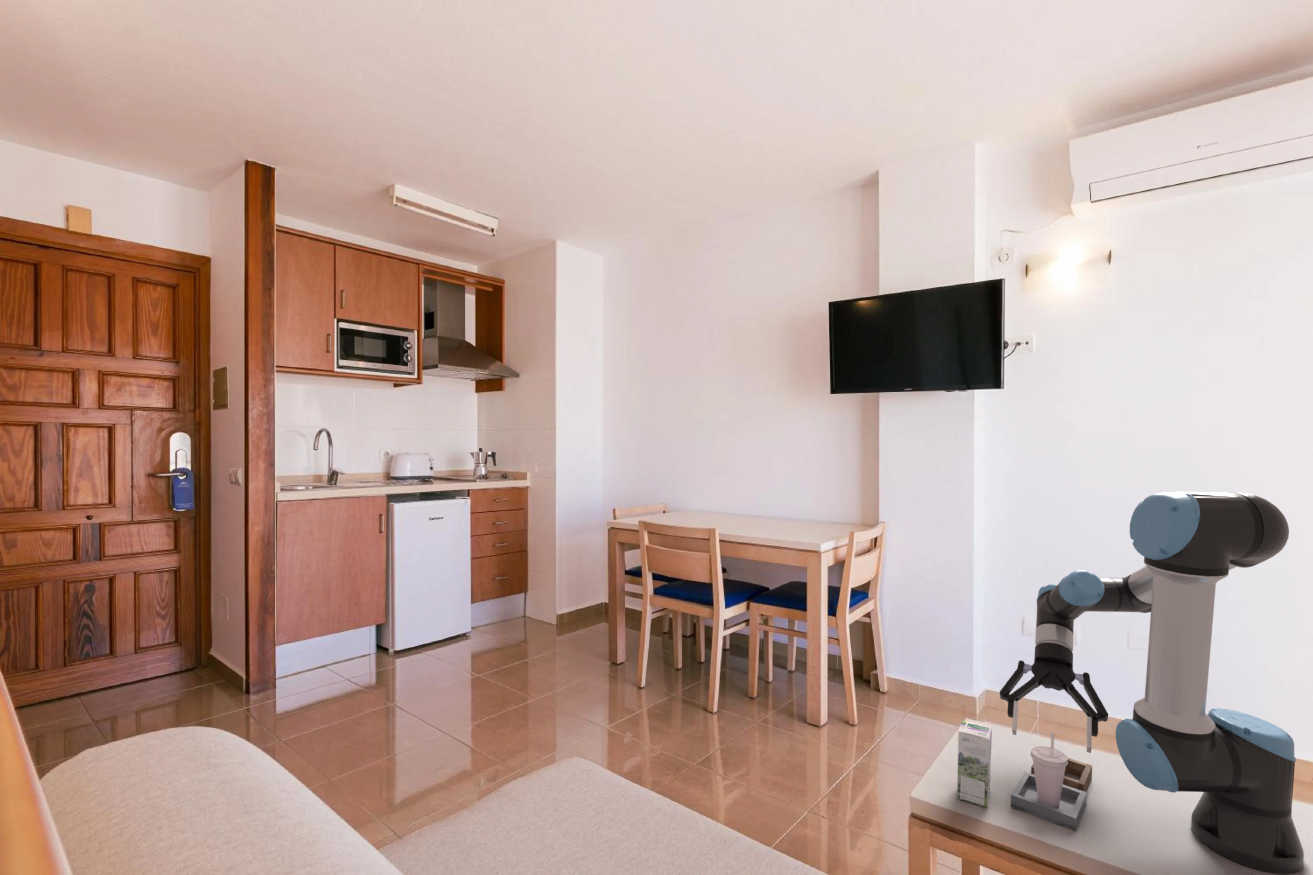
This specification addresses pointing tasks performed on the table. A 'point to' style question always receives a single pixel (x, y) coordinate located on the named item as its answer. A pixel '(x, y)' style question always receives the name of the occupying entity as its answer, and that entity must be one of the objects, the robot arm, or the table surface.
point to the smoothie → (1049, 773)
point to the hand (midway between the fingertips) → (1050, 741)
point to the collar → (1076, 774)
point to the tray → (1060, 815)
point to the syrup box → (974, 763)
